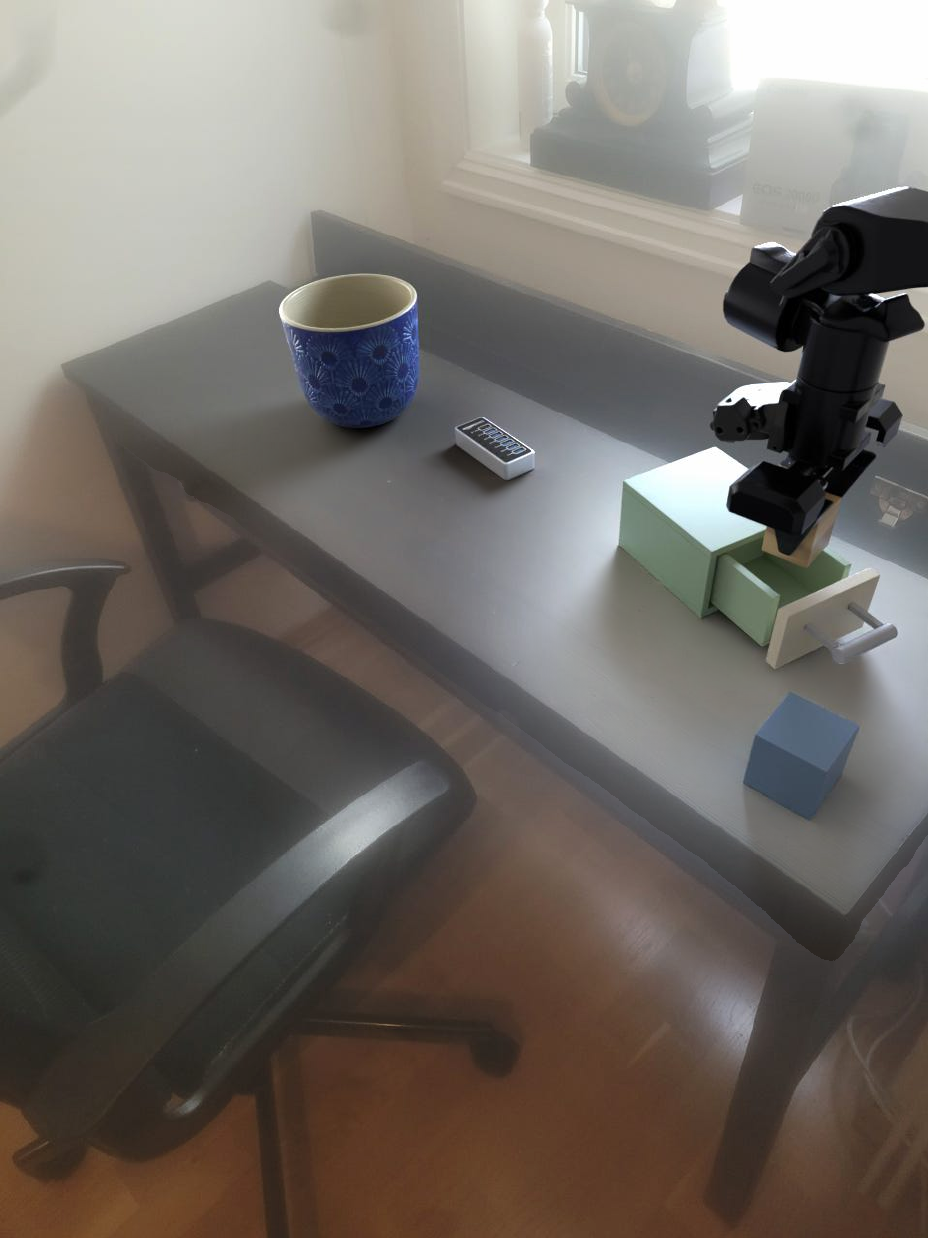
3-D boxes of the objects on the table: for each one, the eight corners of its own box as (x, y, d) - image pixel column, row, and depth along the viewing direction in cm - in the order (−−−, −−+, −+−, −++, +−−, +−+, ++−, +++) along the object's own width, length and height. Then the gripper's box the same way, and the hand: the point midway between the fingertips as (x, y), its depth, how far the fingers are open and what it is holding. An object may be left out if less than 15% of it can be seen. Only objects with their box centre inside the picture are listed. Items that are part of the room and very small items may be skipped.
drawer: (903, 658, 76) (924, 605, 72) (813, 703, 73) (830, 651, 69) (767, 554, 88) (779, 503, 83) (685, 590, 85) (692, 539, 80)
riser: (841, 774, 69) (860, 725, 65) (809, 820, 66) (826, 772, 62) (776, 739, 72) (790, 690, 68) (742, 782, 69) (754, 734, 65)
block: (828, 544, 76) (841, 497, 72) (806, 568, 74) (819, 521, 70) (783, 527, 78) (794, 480, 75) (761, 550, 76) (771, 503, 72)
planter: (361, 459, 108) (341, 343, 97) (277, 417, 117) (250, 307, 106) (454, 404, 116) (445, 292, 106) (369, 369, 125) (353, 263, 115)
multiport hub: (506, 481, 102) (505, 464, 100) (454, 443, 109) (453, 427, 107) (535, 467, 104) (535, 451, 102) (483, 431, 111) (482, 415, 109)
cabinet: (793, 577, 86) (810, 511, 81) (700, 618, 83) (711, 552, 77) (705, 509, 95) (715, 446, 90) (618, 544, 92) (622, 480, 86)
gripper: (794, 306, 74) (763, 463, 84) (677, 394, 64) (658, 558, 75) (928, 338, 68) (877, 502, 78) (821, 440, 58) (779, 611, 69)
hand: (797, 540), depth 75 cm, fingers closed on block, 4 cm apart
